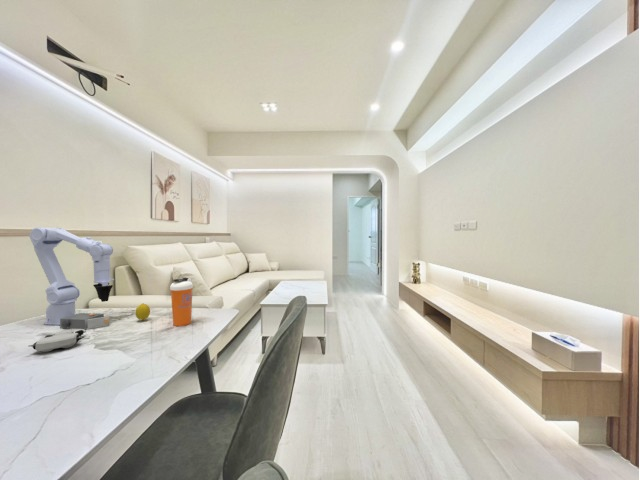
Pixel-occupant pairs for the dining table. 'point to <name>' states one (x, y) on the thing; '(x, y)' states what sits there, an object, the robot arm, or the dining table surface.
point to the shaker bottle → (181, 301)
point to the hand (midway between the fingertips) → (103, 300)
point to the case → (78, 320)
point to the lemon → (142, 311)
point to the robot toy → (58, 340)
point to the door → (97, 322)
